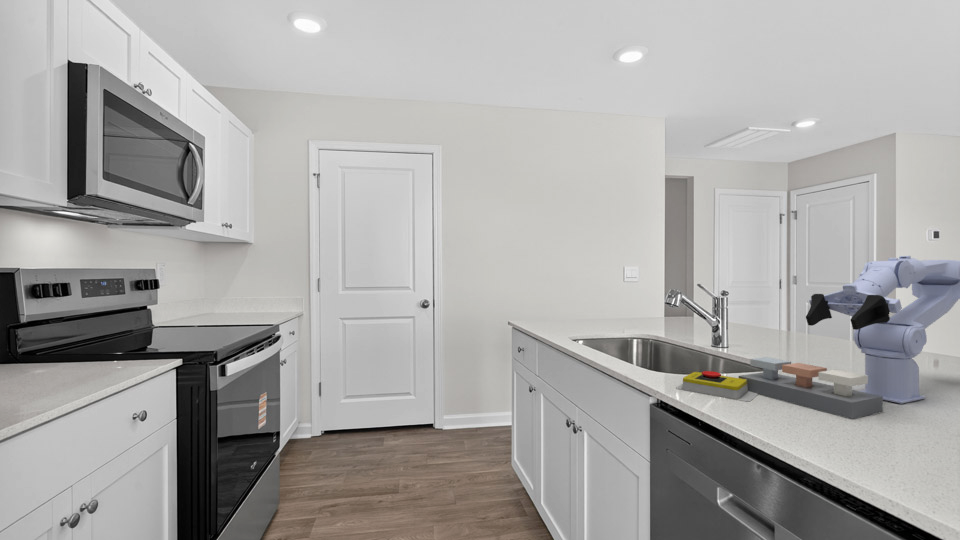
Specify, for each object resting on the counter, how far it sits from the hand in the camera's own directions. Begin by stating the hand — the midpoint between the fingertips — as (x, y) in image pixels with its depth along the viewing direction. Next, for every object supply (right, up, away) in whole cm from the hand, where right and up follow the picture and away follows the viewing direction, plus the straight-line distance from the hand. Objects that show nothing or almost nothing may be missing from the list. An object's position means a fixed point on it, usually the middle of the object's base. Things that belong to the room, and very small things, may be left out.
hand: (830, 322), depth 84 cm
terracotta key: (0, -14, +7) cm, 16 cm away
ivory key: (+3, -14, 0) cm, 15 cm away
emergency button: (-15, -18, +14) cm, 27 cm away
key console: (0, -17, +7) cm, 18 cm away
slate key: (-3, -14, +13) cm, 20 cm away
